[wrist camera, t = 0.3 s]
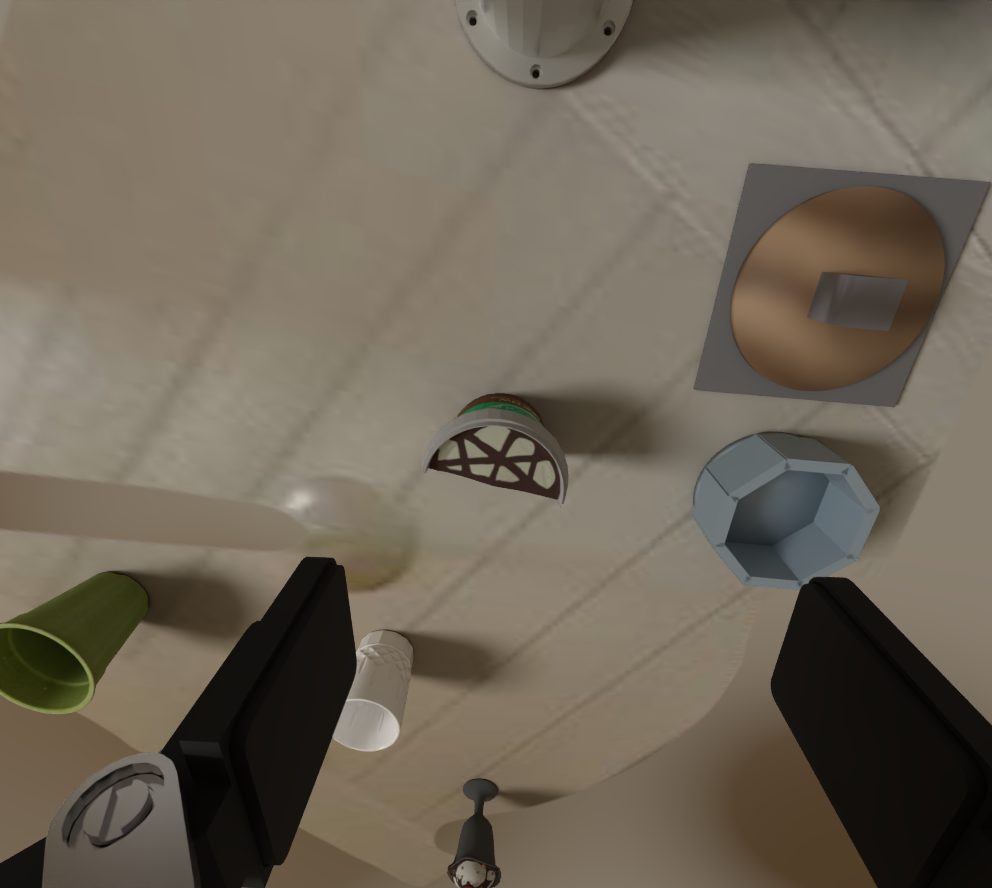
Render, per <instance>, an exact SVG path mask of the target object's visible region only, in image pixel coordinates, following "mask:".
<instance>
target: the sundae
mask: <svg viewBox="0 0 992 888" xmlns="http://www.w3.org/2000/svg"><path fill="white" fill-rule="evenodd" d="M497 791H498V790H497V788H496V786H495V785H494V784H493V783H492V782H490V781H488V780H485V779H473V780H470V781H468V782H467V783H466V784H465V785H464V786H463V792H464V794H465V796H466V797H468V798H469V799H471V800H474V802H475V811H474V815H473V816H472V817H470V818H469V819H468V820H467V821H466V822H465V823H464V825H463V828H462V831H461V835H460V839H459V844H458V849H457V854H456V856H455V860H454V862H453V863H452V864H451V865H449V867H448V871H447V874H448V876H449V877H450V879H451V880H452V882H453V883H454V884H455V885H456V887H457V888H492V887H495V886H496V885H498V883H499V882H500V879H501V871H500V868H498V867H497V866H496V865H495V857H494V840H493V831H492V826H491V824H490V823H489V821H488V820H487V819H486V818H485V817H484V816H483V805H484V802H486V801H490V800H492V799H493V798H494V797H495V796H496V795H497Z"/></svg>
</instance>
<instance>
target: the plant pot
mask: <svg viewBox="0 0 992 888" xmlns="http://www.w3.org/2000/svg"><path fill="white" fill-rule="evenodd" d="M147 611H148V596H147V594H146V592H145V591H144V589H143V588H142V587H141V586H140V585H139V584H138V583H137V582H136V581H134V580H133V579H131V578H130V577H128V576H125V575H118V574H114V573H112V572H103V573H99V574H97V575H95V576H93V577H91V578H90V579H88V580H86V581H84V582H82V583H81V584H79V585H77V586H75V587H73V588H72V589H70V590H68V591H66V592H64V593H63V594H61V595H59V596H57V597H55V598H53V599H52V600H50V601H48V602H46V603H44V604H43V605H41V606H39V607H37V608H35V609H33V610H32V611H30V612H28V613H24V614H21V615H19V616H17V617H15V618H13V619H11V620H9V621H8V622H6V623H0V694H1V695H2V696H4V697H5V698H7V699H8V700H10V701H12V702H14V703H16V704H18V705H20V706H22V707H25V708H28V709H31V710H34V711H38V712H43V713H50V714H65V713H71V712H75V711H77V710H80V709H82V708H83V707H85V706H86V705H87V704H88V703H89V702H90V701H91V699H92V698H93V695H94V693H95V688H96V684H97V683H98V682H99V680H100V679H101V677H102V676H103V674H104V672H105V670H106V667H107V666H108V665H109V663H110V662H111V660H112V659H113V658H114V656H115V655H116V654H117V652H118V651H119V650H120V648H121V647H122V646H123V644H124V643H125V641H126V640H127V639H128V637H129V636H130V635H131V633H132V632H133V631H134V629H135V628H136V627H137V625H138V624H139V623H140V621H141V620H142V618H143V617H144V616H145V614H146V613H147Z"/></svg>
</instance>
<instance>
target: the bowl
mask: <svg viewBox="0 0 992 888" xmlns="http://www.w3.org/2000/svg"><path fill="white" fill-rule="evenodd" d="M693 503H694V509H693V513H692V516H693V517H694V519H695V520H696V522H697V524H698V525H699V527H700V528H701V530H702V532H703V533H704V535H705V537H706V538H707V540H708V541H709V543H710V545H711V546H712V548H713V549H714V550H715V552H716V553H717V554H718V555H719V556H720V558H721V559H722V560H723V561H724V563H725V564H726V565H727V566H728V568H729V569H730V570H731V571H732V572H733V574H734V575H735V576H736V577H737V579H738V580H739V581H740V582H741V583H742V584H743V585H750V586H761V587H772V588H783V589H794V590H800V588H801V587H802V586H803V585H804V584H808V583H809V581H810V580H811V579H812V578H813V577H827V576H828V575H830V574H832V573H834V572H836V571H838V570H840V569H842V568H844V567H846V566H847V565H849V564H851V563H853V562H855V561H856V560H855V559H858V558H859V556H860V553H861V551H862V549H863V547H864V544H865V542H866V540H867V538H868V536H869V533H870V531H871V529H872V527H873V525H874V522H875V520H876V518H877V516H878V514H879V511H880V509H879V508H880V506H879V505H878V503H877V502H876V500H875V499H874V497H873V495H872V494H871V492H870V491H869V489H868V488H867V486H866V485H865V483H864V482H863V480H862V479H861V477H860V475H859V474H858V472H857V471H856V469H855V468H854V466H853V465H852V464H850V463H849V462H848V461H846V460H845V459H843V458H842V457H840V456H839V455H837V454H836V453H834V452H833V451H831V450H830V449H829V448H827V447H826V446H824V445H823V444H821V443H820V442H818V441H817V440H815V439H813V438H801V437H799V436H796V435H793V434H789V433H783V432H765V433H758V434H753V435H750V436H747V437H744V438H741V439H739V440H737V441H734V442H733V443H731V444H729V445H728V446H726V447H725V448H723V449H722V450H720V451H719V452H718V453H717V454H716V455H715V456H714V457H712V458H711V460H710V461H709V462H708V463H707V464H706V466H705V467H704V469H703V470H702V471H701V473H700V475H699V477H698V479H697V482H696V485H695V489H694V496H693Z"/></svg>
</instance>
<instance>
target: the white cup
mask: <svg viewBox="0 0 992 888" xmlns="http://www.w3.org/2000/svg"><path fill="white" fill-rule="evenodd" d="M356 657H357V669H356V675H355V678H354V681H353V684H352V687H351V689H350V692H349V695H348V697H347V700H346V702H345V705H344V708H343V710H342V713H341V716H340V718H339V721H338V723H337V726H336V729H335V731H334V734H333V738H334V739H335V740H336V741H337V742H339V743H340V744H342V745H344V746H346V747H349V748H351V749H355V750H359V751H378V750H382V749H385V748H387V747H389V746H391V745H392V744H393V743H394V742H395V741H396V740H397V739H398V737H399V734H400V729H401V724H402V719H403V714H404V709H405V704H406V699H407V694H408V688H409V682H410V676H411V668H412V663H413V659H414V654H413V647H412V646H411V644H410V643H409V641H408V640H407V639H406V638H405V637H403V636H401V635H400V634H398V633H396V632H392V631H387V630H380V631H374V632H371V633H370V634H368V635H366V636H365V637H363V639H362V641H361V643H360V645H359V647H358V650H357V652H356Z"/></svg>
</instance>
